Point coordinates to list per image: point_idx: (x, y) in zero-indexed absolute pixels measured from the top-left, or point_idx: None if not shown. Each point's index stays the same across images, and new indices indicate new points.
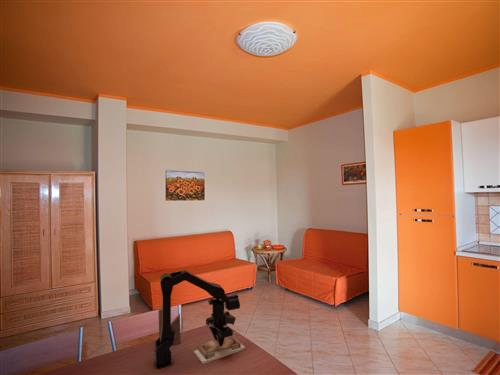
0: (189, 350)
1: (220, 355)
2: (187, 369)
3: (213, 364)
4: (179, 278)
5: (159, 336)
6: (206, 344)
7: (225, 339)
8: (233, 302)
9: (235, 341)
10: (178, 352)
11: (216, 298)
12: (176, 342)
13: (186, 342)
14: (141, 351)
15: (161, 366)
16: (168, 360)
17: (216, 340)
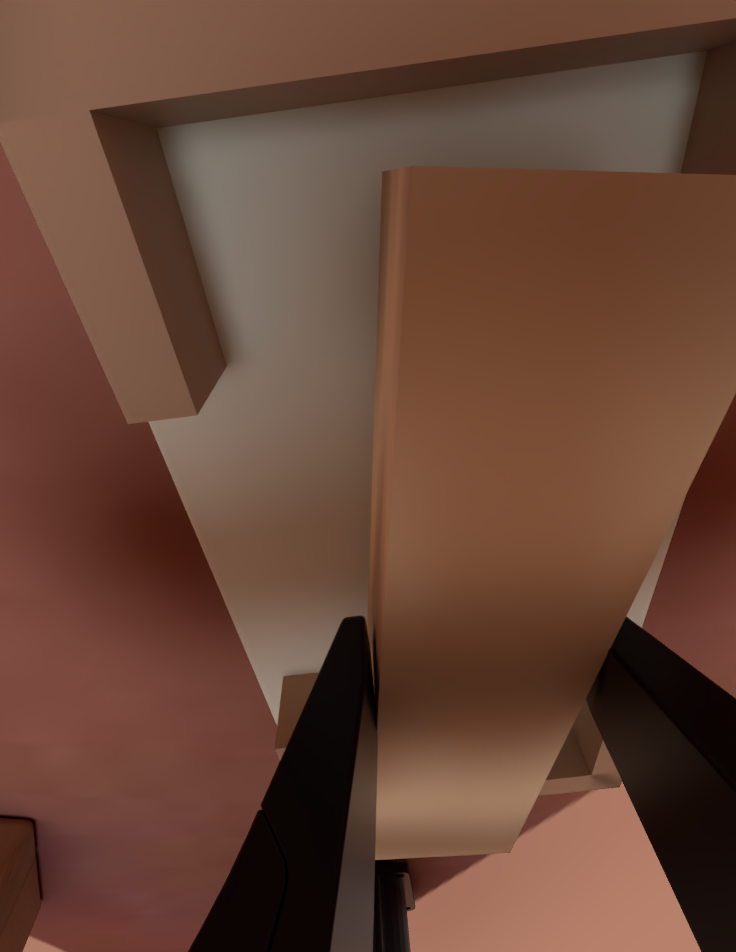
0: (222, 773)
1: (657, 574)
2: (561, 800)
3: (693, 645)
4: None
5: None
6: (455, 847)
7: (525, 542)
8: None
9: (617, 38)
10: (225, 828)
11: None
12: (25, 860)
13: (2, 779)
14: (117, 940)
15: (413, 900)
16: (382, 901)
17: (411, 728)
